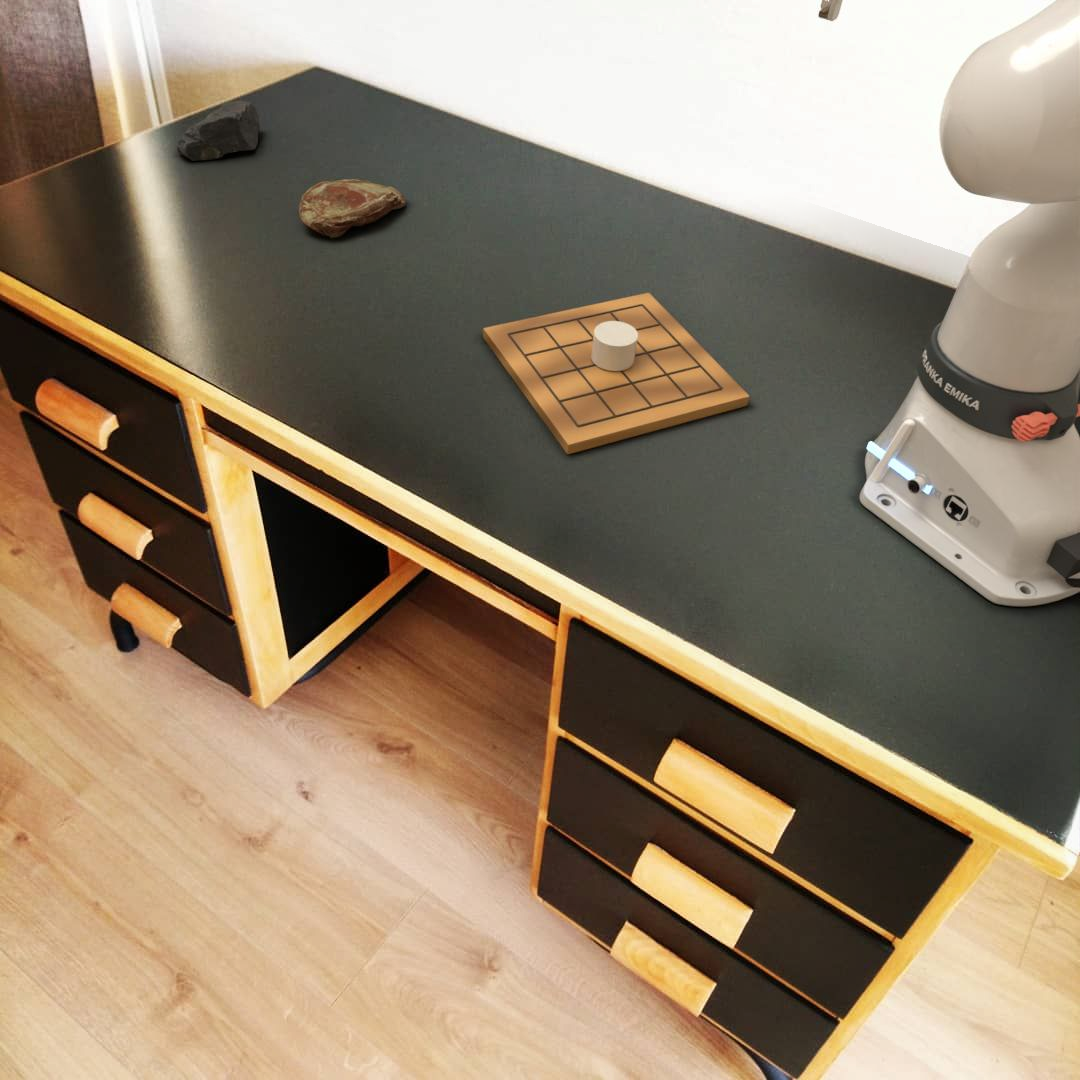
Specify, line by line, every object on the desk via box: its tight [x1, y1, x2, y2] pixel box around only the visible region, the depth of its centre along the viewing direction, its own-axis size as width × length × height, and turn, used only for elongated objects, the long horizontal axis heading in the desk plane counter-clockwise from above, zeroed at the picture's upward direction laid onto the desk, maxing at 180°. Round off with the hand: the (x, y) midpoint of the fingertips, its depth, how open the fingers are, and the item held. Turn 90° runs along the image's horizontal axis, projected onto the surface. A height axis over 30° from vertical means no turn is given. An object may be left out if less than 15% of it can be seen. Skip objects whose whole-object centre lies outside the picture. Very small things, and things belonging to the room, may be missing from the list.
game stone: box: [591, 321, 638, 371], centre depth 94 cm, size 4×4×3 cm
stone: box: [298, 178, 407, 239], centre depth 114 cm, size 13×10×3 cm
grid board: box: [482, 292, 750, 455], centre depth 95 cm, size 20×20×1 cm
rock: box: [176, 100, 261, 162], centre depth 124 cm, size 10×6×10 cm
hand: (784, 6), depth 94 cm, fingers open, 8 cm apart
